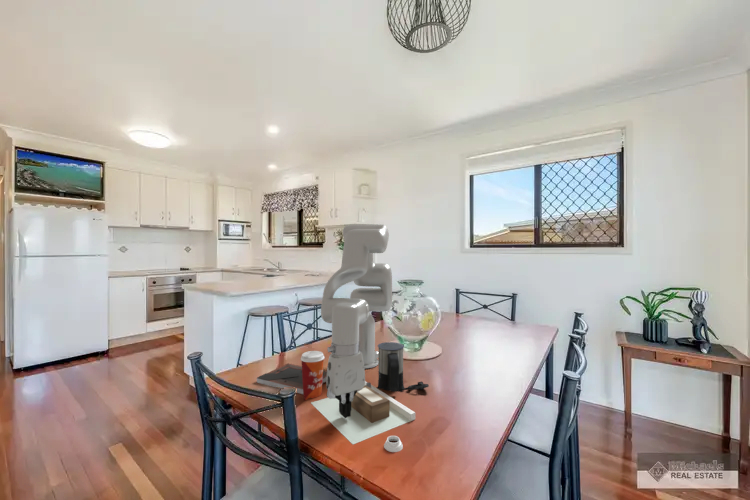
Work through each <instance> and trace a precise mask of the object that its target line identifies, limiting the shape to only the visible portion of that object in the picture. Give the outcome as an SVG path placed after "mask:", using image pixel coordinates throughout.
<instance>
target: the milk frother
mask: <svg viewBox="0 0 750 500" xmlns="http://www.w3.org/2000/svg"><path fill="white" fill-rule="evenodd" d="M377 347H378V352H379V355H378V358H377V359H378V365H377V366H378V367H377V368H378V371H377V372H378V373H377V374H378V375H377V376H378V380H377V389H379V390H384V391H390V392H397V393H398V392H400V393H401V392H404V391H409V390H410V391H411V390H412V391H414V390H419V391H423V390H425V388H429V387H430V386H429V384H428V383H424V382H423V381H422V380H421V381H417V384H411V385H409V386H408V387H405V385H404V348H405V345H404V344H402V343H399V342H394V341H393V342H391V341H389V342H386V341H385V342H382V343H379V344H378V345H377Z"/></svg>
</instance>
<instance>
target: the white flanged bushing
mask: <svg viewBox="0 0 750 500" xmlns="http://www.w3.org/2000/svg"><path fill="white" fill-rule="evenodd" d="M392 441H393V442H392ZM394 441H395V442H394ZM403 445H404V444H403V442H402V441H401V439H400V437H399V436H397V435H389V436H387V438H386V441H385V442H384V444H383V448H384V449H385V450H386V451H388V452H391V453H398V452H401V451H402V450H403V448H404V447H403Z"/></svg>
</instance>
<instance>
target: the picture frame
mask: <svg viewBox="0 0 750 500" xmlns="http://www.w3.org/2000/svg"><path fill="white" fill-rule="evenodd" d="M326 377H327V370H324V369H323V378H322V384H324V383H326ZM256 383H258V384H261V385H265V386H268V387H272V388H273V387H274V388H276V387H280V388H284V387H295V388H297V394H301V395H303V379H302V365H298V364H292V363H289V362H288V363H285V364H284V365H281V366H279V367H277V368H275V369H273V370H271V371H269V372H266V373H264V374H261V375H260V376H257V377H256ZM280 388H279V389H280Z"/></svg>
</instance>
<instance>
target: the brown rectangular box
mask: <svg viewBox="0 0 750 500" xmlns="http://www.w3.org/2000/svg"><path fill="white" fill-rule="evenodd" d="M351 407H352V408H353V409H355V410H356V411H357V412H358V413H360V414H361V415H362V416H363V417H365V418H366V419H367V420H368V421H370V422H371V423H374V422H376V421H379V420H382V419H384V418H387V417H389V411H390V400H388V399H387V398H385V397H383V396H382V395H380V394H379V393H377V392H376V391H374V390H373V389H371V388H370V387H368V386H366V385H365V386H364V387H363V389H362V390H360V391H358V392H357V393H356V394H355V396H354V398H353V401H351Z"/></svg>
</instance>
